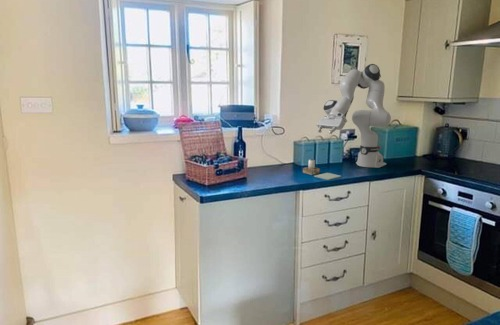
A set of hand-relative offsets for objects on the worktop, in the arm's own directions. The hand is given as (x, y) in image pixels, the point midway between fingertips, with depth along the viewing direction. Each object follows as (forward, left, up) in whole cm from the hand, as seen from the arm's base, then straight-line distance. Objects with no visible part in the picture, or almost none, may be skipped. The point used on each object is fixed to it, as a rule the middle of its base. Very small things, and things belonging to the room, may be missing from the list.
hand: (324, 132), depth 242 cm
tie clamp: (+12, 0, -25) cm, 28 cm away
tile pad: (+11, +13, -25) cm, 31 cm away
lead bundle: (+12, 0, -25) cm, 28 cm away
